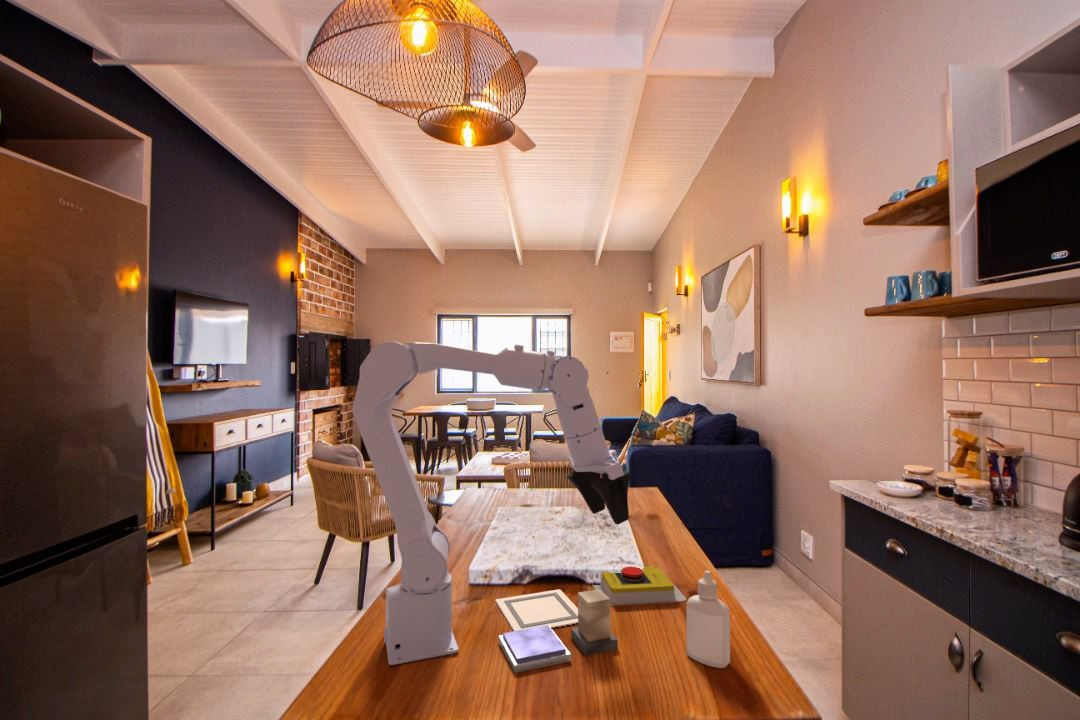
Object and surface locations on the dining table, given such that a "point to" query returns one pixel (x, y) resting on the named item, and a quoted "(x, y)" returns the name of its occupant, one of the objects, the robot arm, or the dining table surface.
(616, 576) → the emergency button
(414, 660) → the robot arm
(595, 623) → the stamp
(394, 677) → the dining table surface
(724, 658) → the eye dropper bottle
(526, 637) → the ink pad
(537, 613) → the marked card
